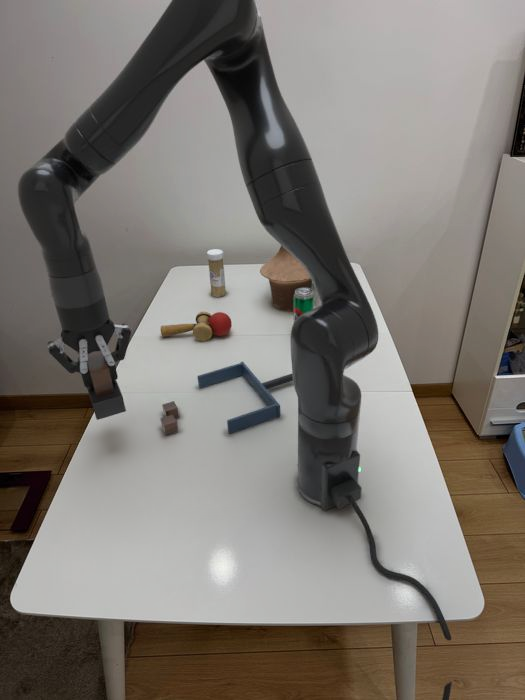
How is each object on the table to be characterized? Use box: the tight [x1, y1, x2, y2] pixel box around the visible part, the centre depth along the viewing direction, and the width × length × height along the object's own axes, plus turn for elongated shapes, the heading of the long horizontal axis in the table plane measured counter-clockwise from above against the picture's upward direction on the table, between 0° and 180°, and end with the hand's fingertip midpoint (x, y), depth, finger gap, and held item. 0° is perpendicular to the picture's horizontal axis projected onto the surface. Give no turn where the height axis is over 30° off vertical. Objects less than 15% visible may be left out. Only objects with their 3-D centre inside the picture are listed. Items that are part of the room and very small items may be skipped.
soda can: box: [292, 288, 315, 323], centre depth 121 cm, size 5×5×12 cm
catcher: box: [197, 361, 293, 434], centre depth 102 cm, size 18×19×3 cm
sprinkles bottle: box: [206, 248, 227, 298], centre depth 142 cm, size 5×5×14 cm
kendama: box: [159, 310, 232, 342], centre depth 124 cm, size 8×6×18 cm
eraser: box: [86, 351, 127, 421], centre depth 85 cm, size 10×5×8 cm, turn 26°
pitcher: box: [259, 245, 313, 312], centre depth 131 cm, size 18×17×28 cm
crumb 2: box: [160, 415, 179, 436], centre depth 94 cm, size 2×2×2 cm
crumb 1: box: [161, 400, 180, 420], centre depth 97 cm, size 2×2×2 cm
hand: (102, 383), depth 86 cm, fingers closed on eraser, 3 cm apart
